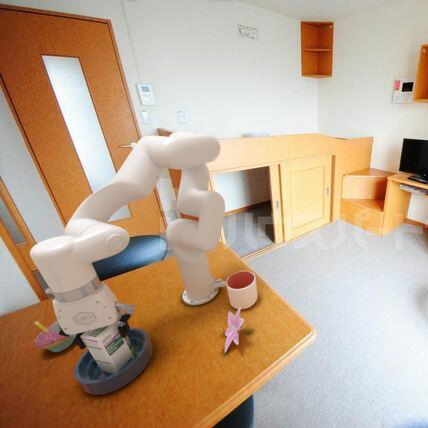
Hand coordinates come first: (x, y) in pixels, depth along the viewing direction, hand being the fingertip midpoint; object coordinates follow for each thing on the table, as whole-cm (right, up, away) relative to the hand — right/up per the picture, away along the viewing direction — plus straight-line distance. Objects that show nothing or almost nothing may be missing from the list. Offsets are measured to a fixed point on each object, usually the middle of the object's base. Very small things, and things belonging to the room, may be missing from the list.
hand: (106, 338), depth 62 cm
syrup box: (0, -10, +5) cm, 11 cm away
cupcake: (-22, -7, +10) cm, 25 cm away
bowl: (0, -10, +5) cm, 11 cm away
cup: (+28, 0, +27) cm, 39 cm away
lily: (+30, -7, +13) cm, 33 cm away
